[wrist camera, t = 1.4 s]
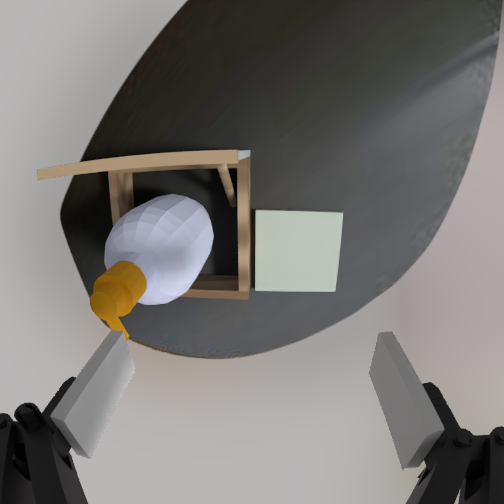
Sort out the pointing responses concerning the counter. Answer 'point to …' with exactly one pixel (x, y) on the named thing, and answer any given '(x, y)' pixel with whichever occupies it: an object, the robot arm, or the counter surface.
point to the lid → (145, 162)
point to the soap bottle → (152, 256)
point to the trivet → (297, 250)
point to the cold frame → (224, 283)
